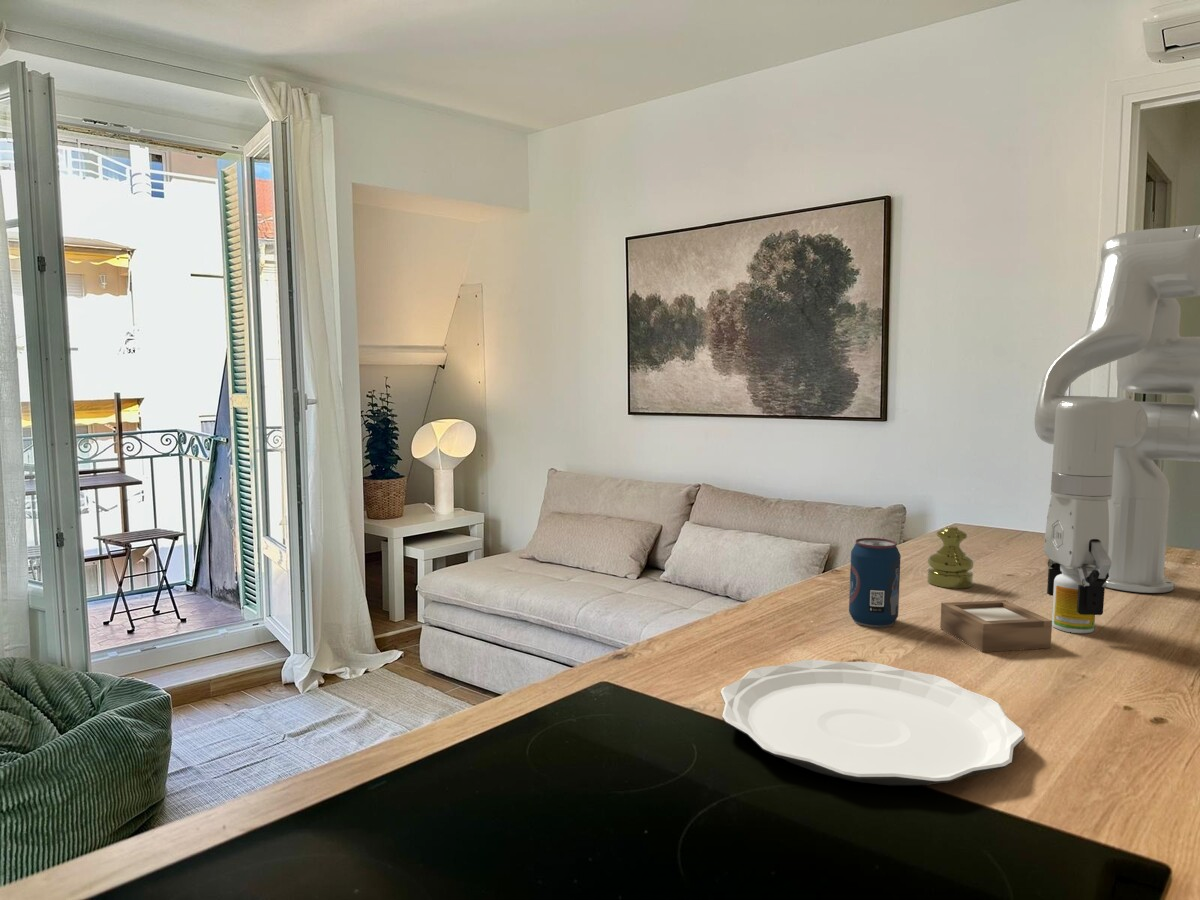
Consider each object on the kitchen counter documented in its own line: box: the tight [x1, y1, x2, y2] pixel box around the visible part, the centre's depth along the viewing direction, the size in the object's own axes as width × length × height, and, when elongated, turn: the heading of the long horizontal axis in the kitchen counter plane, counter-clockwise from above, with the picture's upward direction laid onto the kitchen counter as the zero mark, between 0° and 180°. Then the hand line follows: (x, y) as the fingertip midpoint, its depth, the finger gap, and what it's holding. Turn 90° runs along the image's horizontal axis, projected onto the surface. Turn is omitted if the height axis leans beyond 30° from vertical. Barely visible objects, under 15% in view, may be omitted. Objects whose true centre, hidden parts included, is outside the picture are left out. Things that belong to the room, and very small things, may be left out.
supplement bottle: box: [1051, 565, 1096, 634], centre depth 121 cm, size 5×5×10 cm
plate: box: [720, 659, 1026, 787], centre depth 88 cm, size 29×29×2 cm
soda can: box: [848, 537, 902, 628], centre depth 124 cm, size 7×7×12 cm
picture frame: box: [939, 599, 1053, 653], centre depth 117 cm, size 10×10×4 cm
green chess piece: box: [926, 525, 975, 590], centre depth 146 cm, size 7×7×10 cm
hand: (1073, 604), depth 121 cm, fingers open, 9 cm apart
